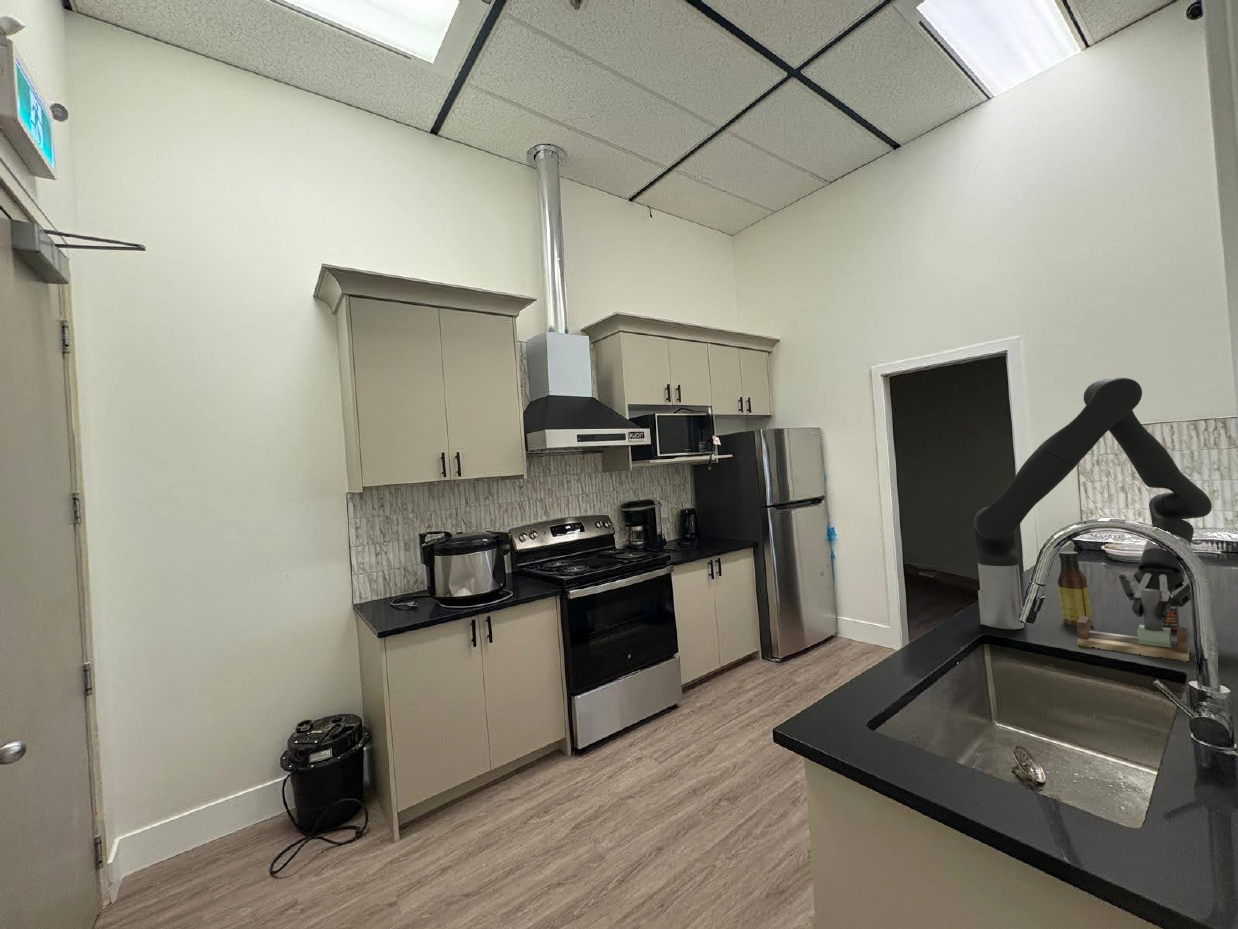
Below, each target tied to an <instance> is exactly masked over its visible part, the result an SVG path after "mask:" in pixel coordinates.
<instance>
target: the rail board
mask: <svg viewBox="0 0 1238 929" xmlns="http://www.w3.org/2000/svg"><path fill="white" fill-rule="evenodd" d="M1076 629H1077V630H1076V632H1077V646H1078V645H1080V646H1079V647H1085V646H1086V647H1085V648H1091V647H1095V648H1094V649H1098V648H1100V650H1105V651H1106V650H1107V651H1112V650H1114V651H1113V652H1119V653H1126V654H1133V655H1134V654H1135V655H1139V654H1141V655H1140V656H1147V657H1155V658H1159V657H1163V658H1162V659H1166V658H1172V659H1180V660H1188V661H1189V662H1190V655H1189V652H1190V653H1191V650H1190V643H1189V635H1188V634H1189V633H1188V628H1187V627H1181V626H1180V627H1178V630H1176V641H1172V640H1171V641H1170V642H1171V648H1170V647H1162V646H1155V645H1148V644H1140V643H1139V639H1138V636H1135V635H1134V636H1133V635H1126V634H1117V633H1110V632H1105V631H1104V632H1103V631H1097V630H1092V625H1091V624H1090V617H1086V616H1081V617H1080V618H1079V619H1078V621H1077V626H1076ZM1172 659H1171V660H1172Z"/></svg>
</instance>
